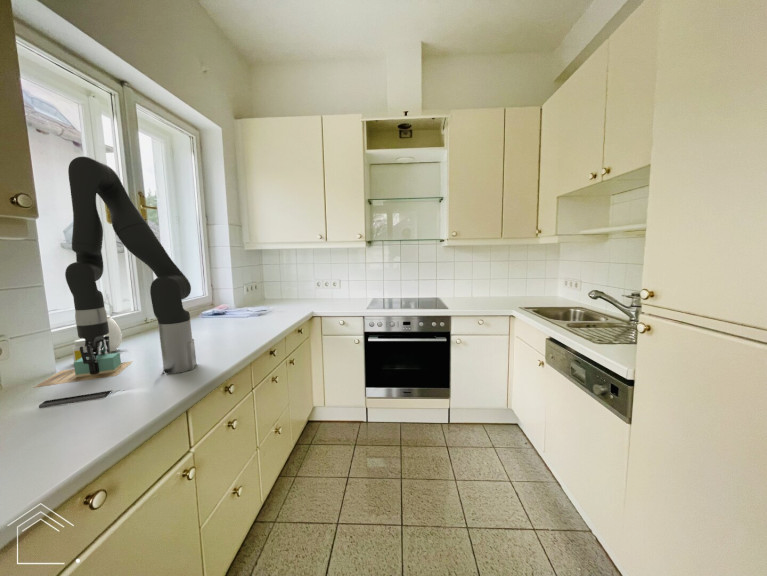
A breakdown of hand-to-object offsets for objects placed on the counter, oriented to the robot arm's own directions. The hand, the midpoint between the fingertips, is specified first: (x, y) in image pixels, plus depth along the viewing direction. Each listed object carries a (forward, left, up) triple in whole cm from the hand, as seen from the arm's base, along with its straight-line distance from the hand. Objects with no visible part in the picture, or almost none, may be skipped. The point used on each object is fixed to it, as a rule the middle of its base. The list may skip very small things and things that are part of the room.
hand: (99, 370), depth 102 cm
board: (+3, 0, -2) cm, 4 cm away
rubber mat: (-2, +16, -2) cm, 16 cm away
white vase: (+8, -31, -2) cm, 32 cm away
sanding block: (0, 0, 0) cm, 0 cm away
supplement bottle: (+10, -15, -2) cm, 18 cm away
